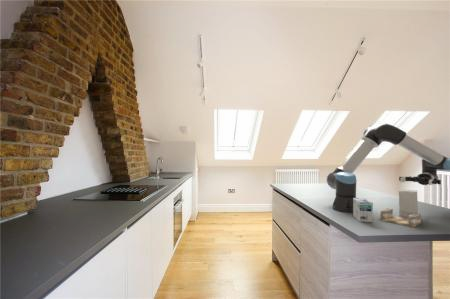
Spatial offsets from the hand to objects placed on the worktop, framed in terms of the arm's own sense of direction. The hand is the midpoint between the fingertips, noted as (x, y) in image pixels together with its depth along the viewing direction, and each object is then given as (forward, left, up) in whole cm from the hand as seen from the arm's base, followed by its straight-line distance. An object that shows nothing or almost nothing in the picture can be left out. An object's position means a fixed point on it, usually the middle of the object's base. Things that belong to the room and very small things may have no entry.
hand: (414, 181), depth 139 cm
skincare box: (0, -11, -20) cm, 23 cm away
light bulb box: (-14, -37, -20) cm, 44 cm away
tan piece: (0, -24, -20) cm, 31 cm away
